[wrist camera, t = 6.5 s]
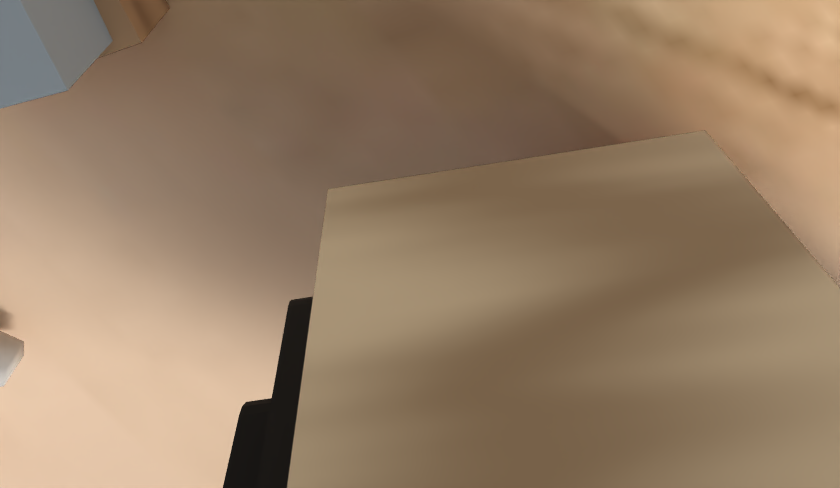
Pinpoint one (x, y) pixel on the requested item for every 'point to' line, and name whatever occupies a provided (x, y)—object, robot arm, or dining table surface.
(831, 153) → the dining table surface
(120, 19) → the tower base block
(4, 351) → the white figure shaped piece
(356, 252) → the maple block
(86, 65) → the tower top block
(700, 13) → the dining table surface
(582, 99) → the dining table surface
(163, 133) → the dining table surface
